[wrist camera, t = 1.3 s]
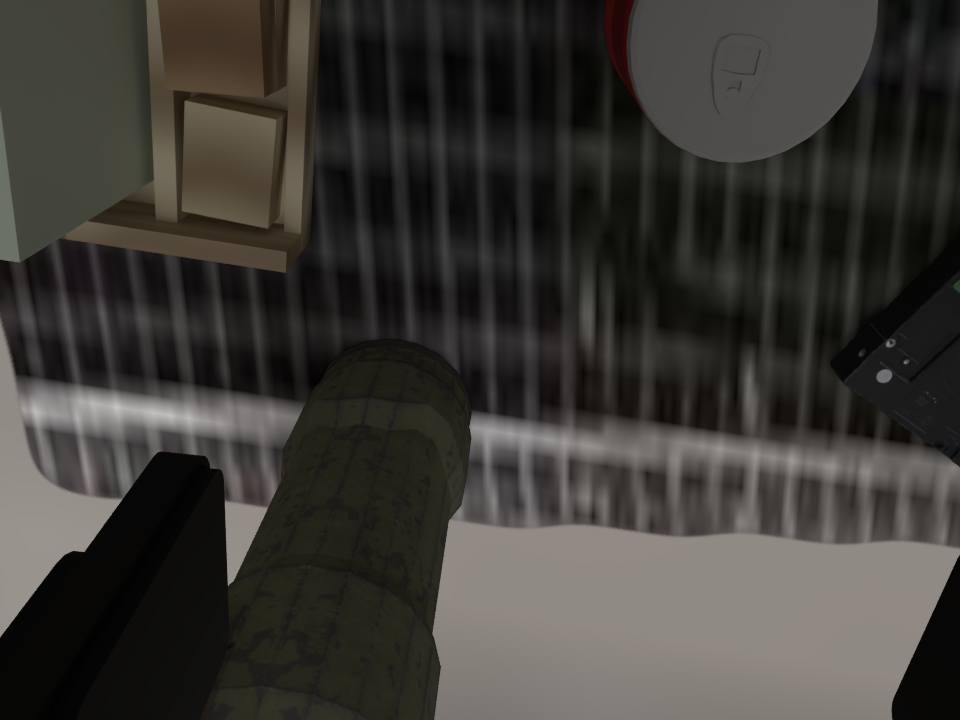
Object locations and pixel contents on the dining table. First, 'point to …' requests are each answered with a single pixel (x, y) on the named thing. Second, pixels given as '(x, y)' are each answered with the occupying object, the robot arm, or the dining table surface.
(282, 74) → the offcut
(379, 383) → the thermos
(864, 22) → the canned food
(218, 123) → the offcut
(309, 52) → the rack
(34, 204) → the grey-green flat slab
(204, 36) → the offcut
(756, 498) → the dining table surface
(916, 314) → the disk drive
